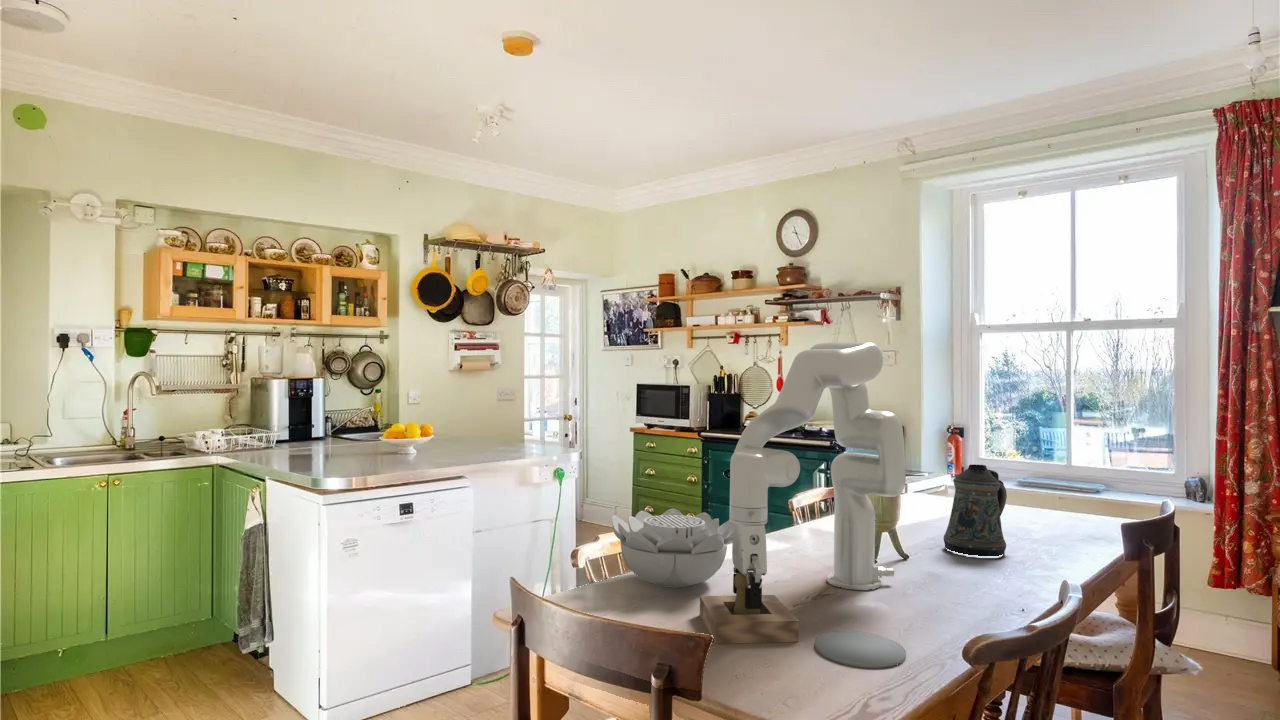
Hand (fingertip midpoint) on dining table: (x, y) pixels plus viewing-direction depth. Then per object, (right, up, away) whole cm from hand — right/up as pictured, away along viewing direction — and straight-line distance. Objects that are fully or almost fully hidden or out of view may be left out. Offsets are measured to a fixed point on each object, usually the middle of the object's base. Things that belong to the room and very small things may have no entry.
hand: (746, 600), depth 147 cm
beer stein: (+76, -8, +67) cm, 102 cm away
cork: (0, -6, 0) cm, 6 cm away
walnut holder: (0, -5, 0) cm, 5 cm away
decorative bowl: (-12, -6, +31) cm, 34 cm away
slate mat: (+19, -6, -11) cm, 23 cm away
